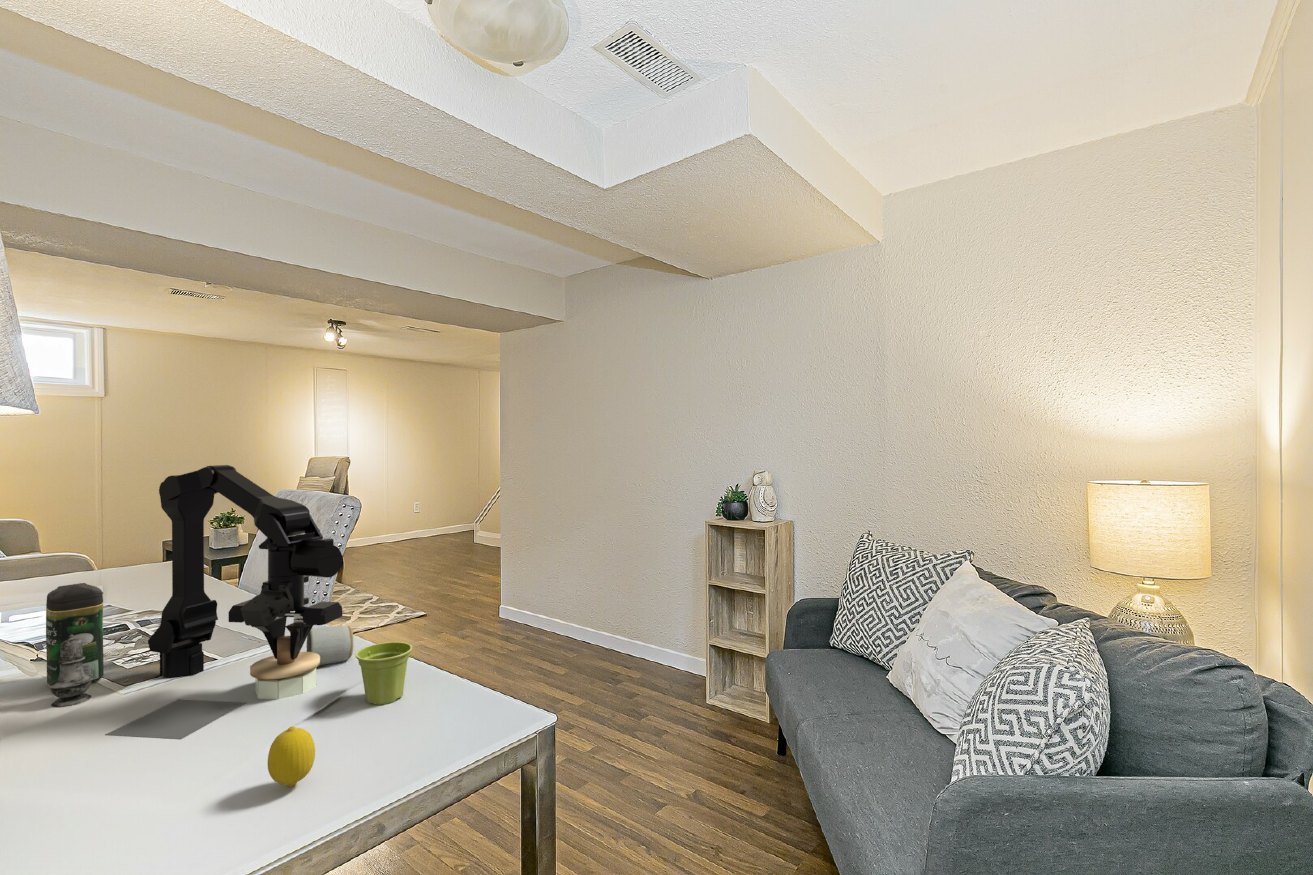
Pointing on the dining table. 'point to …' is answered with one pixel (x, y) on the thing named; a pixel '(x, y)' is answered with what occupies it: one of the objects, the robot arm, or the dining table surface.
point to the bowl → (285, 685)
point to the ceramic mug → (331, 643)
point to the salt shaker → (71, 676)
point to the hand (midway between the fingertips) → (286, 658)
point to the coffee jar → (75, 627)
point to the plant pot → (384, 670)
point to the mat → (177, 719)
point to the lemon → (291, 756)
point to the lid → (284, 662)
